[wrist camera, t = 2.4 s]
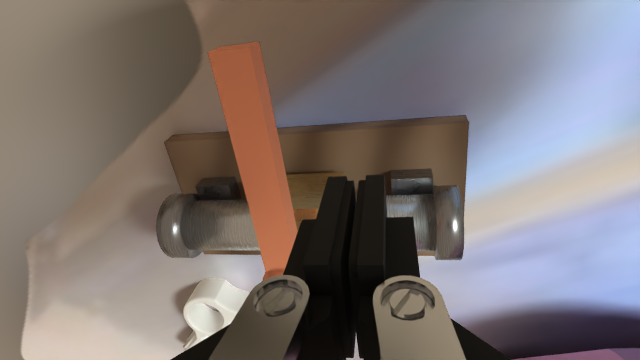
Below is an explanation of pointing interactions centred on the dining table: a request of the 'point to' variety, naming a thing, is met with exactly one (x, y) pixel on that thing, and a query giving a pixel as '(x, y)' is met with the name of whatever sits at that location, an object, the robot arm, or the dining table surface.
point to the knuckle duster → (207, 319)
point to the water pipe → (305, 213)
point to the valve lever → (256, 149)
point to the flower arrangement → (594, 355)
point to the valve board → (336, 154)
